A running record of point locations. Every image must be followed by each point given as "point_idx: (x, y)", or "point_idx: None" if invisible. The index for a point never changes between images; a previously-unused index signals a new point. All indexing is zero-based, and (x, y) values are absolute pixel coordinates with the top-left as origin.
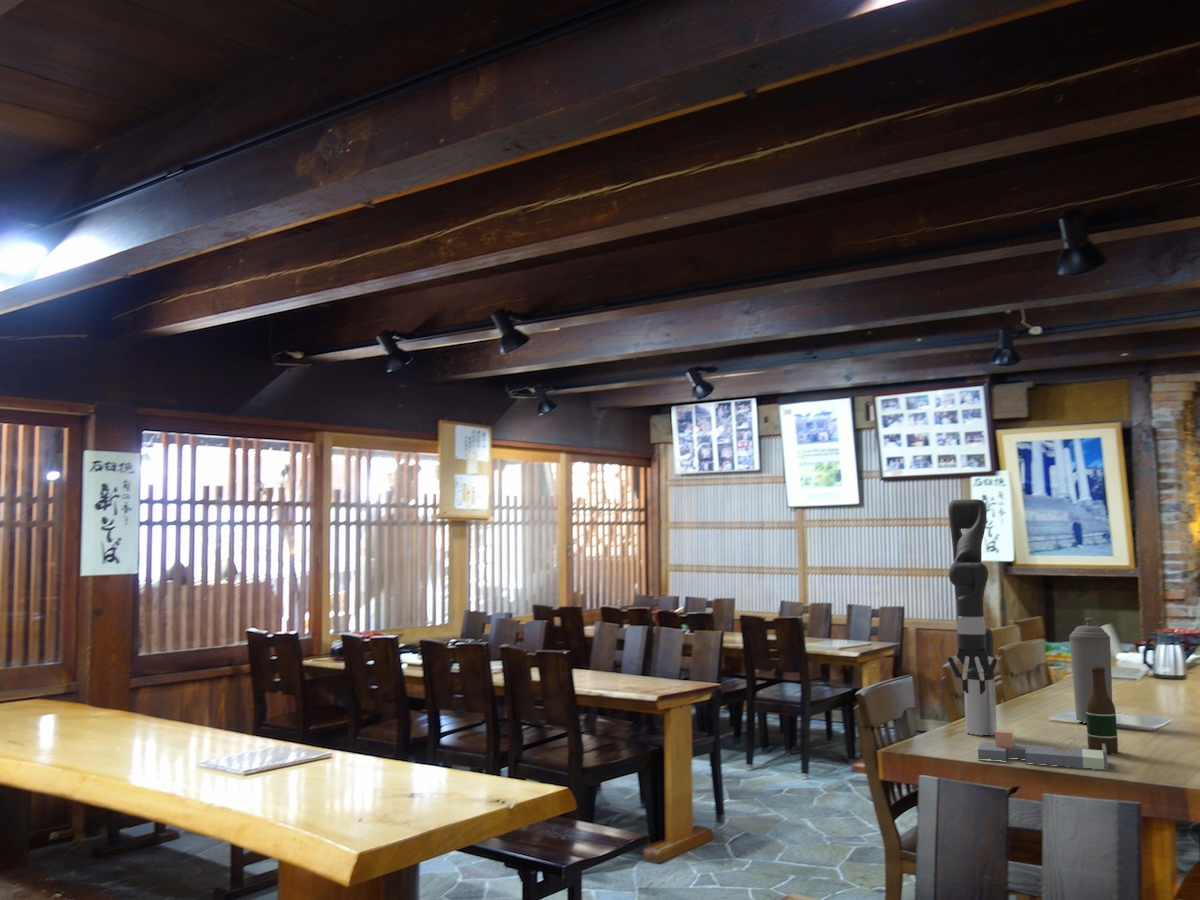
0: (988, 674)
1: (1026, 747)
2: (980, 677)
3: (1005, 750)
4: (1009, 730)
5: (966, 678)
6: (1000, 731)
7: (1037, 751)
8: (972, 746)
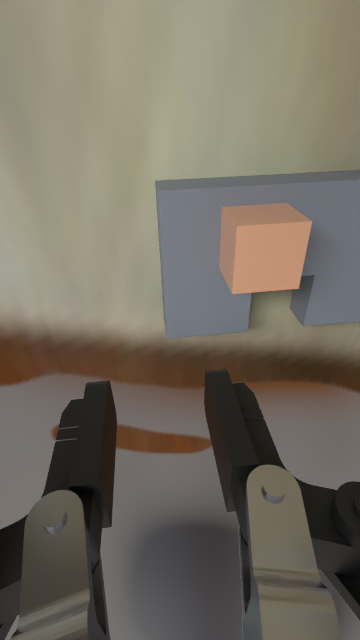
0: (347, 582)
1: (324, 236)
2: (248, 551)
3: (248, 319)
4: (294, 229)
5: (96, 539)
6: (253, 274)
7: (345, 292)
8: (85, 11)
